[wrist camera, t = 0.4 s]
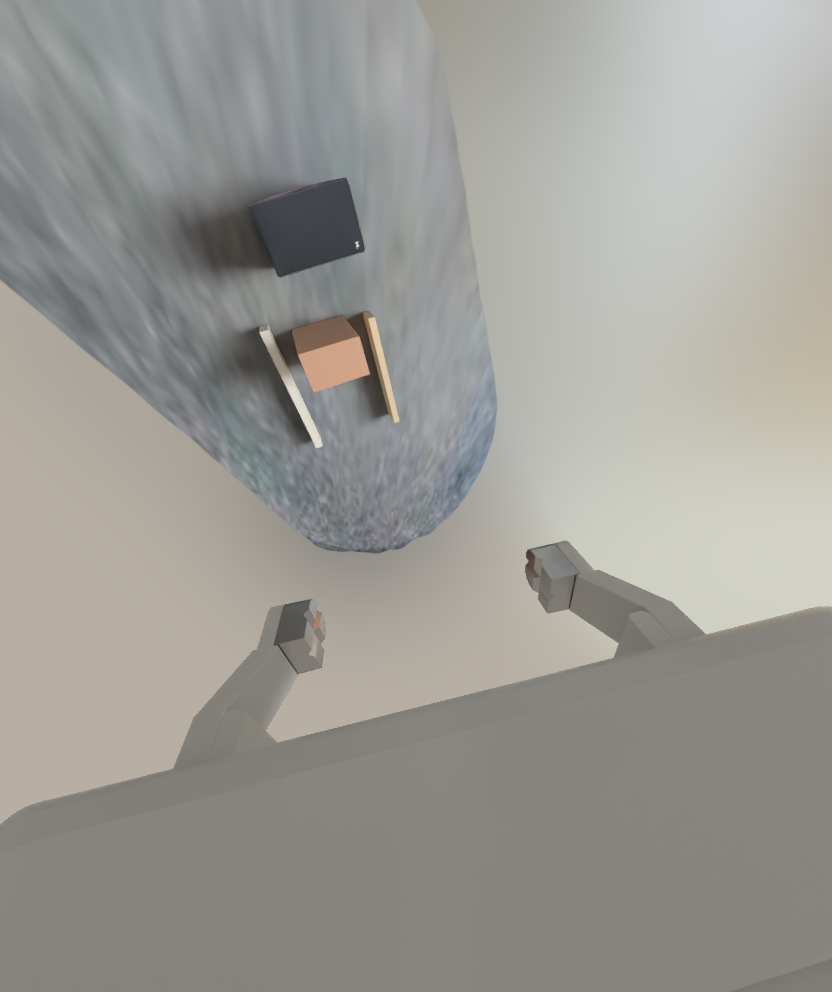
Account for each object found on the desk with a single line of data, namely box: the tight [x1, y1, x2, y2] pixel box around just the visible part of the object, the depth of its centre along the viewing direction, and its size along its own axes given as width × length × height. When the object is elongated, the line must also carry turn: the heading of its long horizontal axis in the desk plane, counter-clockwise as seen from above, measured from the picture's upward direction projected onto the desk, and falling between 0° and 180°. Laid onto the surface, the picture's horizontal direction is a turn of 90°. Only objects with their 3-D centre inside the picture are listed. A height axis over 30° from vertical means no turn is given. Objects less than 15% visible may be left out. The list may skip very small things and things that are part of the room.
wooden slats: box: [259, 311, 399, 448], centre depth 51 cm, size 20×16×4 cm
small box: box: [249, 178, 366, 277], centre depth 36 cm, size 11×6×10 cm, turn 102°
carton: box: [292, 315, 370, 392], centre depth 45 cm, size 5×8×12 cm, turn 100°
